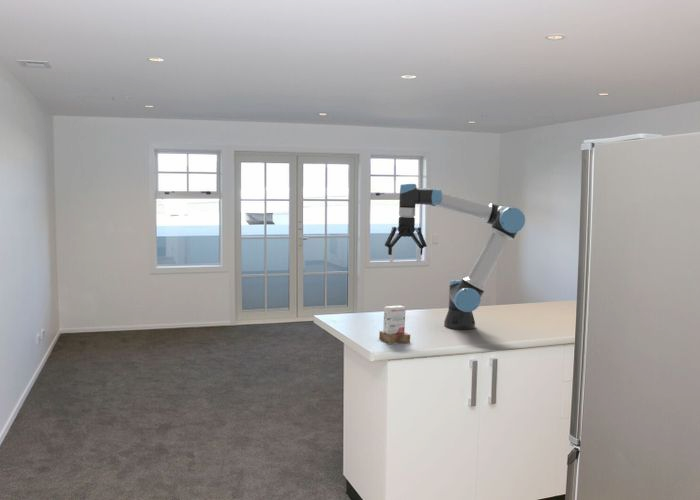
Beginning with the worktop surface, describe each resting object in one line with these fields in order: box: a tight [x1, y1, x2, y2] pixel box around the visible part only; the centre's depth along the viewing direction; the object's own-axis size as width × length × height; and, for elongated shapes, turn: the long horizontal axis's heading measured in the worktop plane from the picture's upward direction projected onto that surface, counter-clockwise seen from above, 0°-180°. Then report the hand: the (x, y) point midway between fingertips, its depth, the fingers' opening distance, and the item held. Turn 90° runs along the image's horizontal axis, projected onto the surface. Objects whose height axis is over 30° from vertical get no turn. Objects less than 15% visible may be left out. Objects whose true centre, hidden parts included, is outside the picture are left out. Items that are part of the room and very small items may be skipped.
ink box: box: [382, 304, 407, 334], centre depth 298 cm, size 9×5×12 cm, turn 118°
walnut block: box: [378, 330, 411, 345], centre depth 299 cm, size 10×10×4 cm
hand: (405, 261), depth 317 cm, fingers open, 13 cm apart
